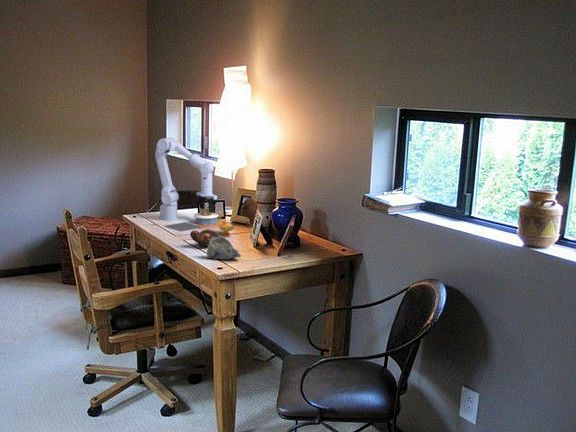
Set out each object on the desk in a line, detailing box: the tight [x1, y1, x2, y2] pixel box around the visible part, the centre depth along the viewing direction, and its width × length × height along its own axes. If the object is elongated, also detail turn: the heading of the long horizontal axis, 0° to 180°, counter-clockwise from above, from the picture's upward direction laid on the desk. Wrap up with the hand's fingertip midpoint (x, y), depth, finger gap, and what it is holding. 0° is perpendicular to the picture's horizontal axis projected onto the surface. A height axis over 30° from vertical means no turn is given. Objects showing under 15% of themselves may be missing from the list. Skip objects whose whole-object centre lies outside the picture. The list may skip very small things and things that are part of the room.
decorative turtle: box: [189, 229, 220, 249], centre depth 260 cm, size 10×15×8 cm, turn 111°
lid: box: [193, 207, 220, 219], centre depth 305 cm, size 13×13×4 cm
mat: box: [163, 221, 204, 232], centre depth 296 cm, size 15×14×1 cm
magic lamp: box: [218, 210, 239, 237], centre depth 282 cm, size 7×18×11 cm, turn 36°
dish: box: [195, 216, 219, 226], centre depth 307 cm, size 11×11×4 cm
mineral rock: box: [206, 235, 242, 260], centre depth 241 cm, size 13×11×10 cm
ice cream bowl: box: [240, 197, 257, 228], centre depth 302 cm, size 11×11×15 cm
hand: (206, 211), depth 306 cm, fingers open, 7 cm apart
